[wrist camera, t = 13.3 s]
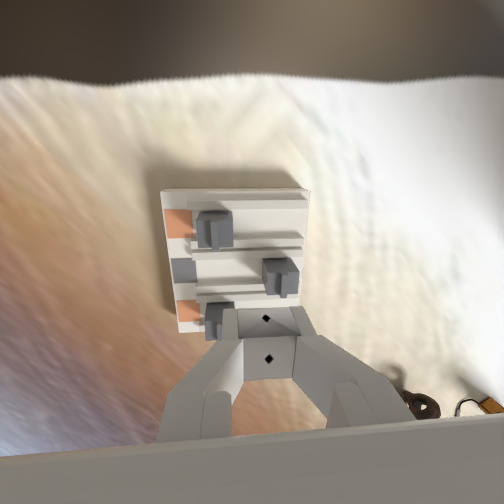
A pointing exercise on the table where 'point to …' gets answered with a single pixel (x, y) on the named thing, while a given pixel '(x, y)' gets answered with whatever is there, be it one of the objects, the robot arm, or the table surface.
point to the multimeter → (485, 407)
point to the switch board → (233, 258)
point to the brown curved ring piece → (418, 399)
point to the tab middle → (280, 276)
